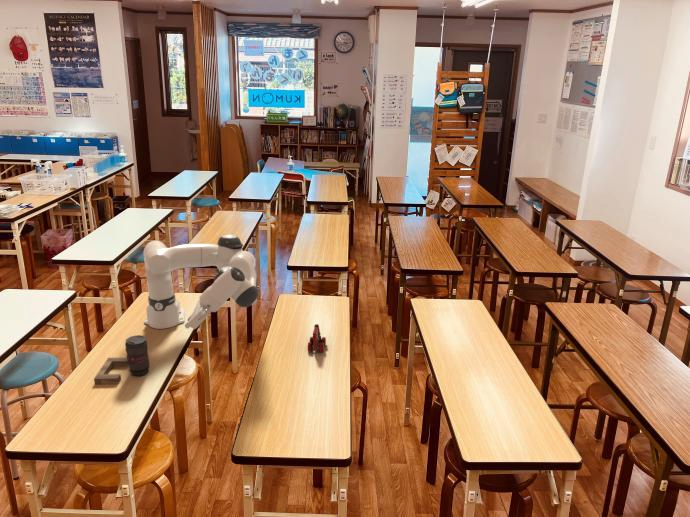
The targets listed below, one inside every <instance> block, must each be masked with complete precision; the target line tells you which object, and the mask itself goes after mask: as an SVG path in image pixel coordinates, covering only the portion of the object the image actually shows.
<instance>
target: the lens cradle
mask: <svg viewBox="0 0 690 517" xmlns="http://www.w3.org/2000/svg"><path fill="white" fill-rule="evenodd" d="M114 366H120V367H128V361H127V356H126V357H125V356H124V357H123V356H122V357H108V358H107V359H106V360H105V362H104V363H103V365H102V366H101V368H100V370H99V371H98V372H97V373H96V375H95V376H94V379H93V381H94V385H116V384H117V385H119V384H120V383H121V380H122V377H121V373H114V374H111V373H110V372H111V370H112V369H113V367H114Z"/></svg>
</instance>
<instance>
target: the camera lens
mask: <svg viewBox="0 0 690 517" xmlns="http://www.w3.org/2000/svg"><path fill="white" fill-rule="evenodd" d="M124 345H125V346H124V347H125V352H126V357H127V361H128V366H127V367H128V369H129V370H128V371H129V372H130V374H131V377H132V376H133V377H136V378H138V377H143V376H145V375H146V376H147V374H149V370H150V369H149V368H150V358H149V352H148V348H149V346H148V341H147V338H146V336H144V335H141V334H139V335H136V334H135V335H132V336H131V335H130V336H129V337H128V338H126V339H125V344H124Z"/></svg>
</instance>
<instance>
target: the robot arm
mask: <svg viewBox="0 0 690 517" xmlns="http://www.w3.org/2000/svg"><path fill="white" fill-rule="evenodd" d="M243 247H244V244H243V243H242V241H241V238H239V237H238V236H237V235H234V234H224V235H221V236H220V237H219V238H218V241H217V244H213V243H183V244H180V245H176V246H173V247H167V246H166V244H164V243H163V242H162V241H160V240H151V241H149V242H147V244H145V246H144V249H143V260H144V267H145V268H144V269H145V276H146V282H147V283H146V284H147V291H148V298H147V301H148V305H147V306H146V309H145V310H146V319H144V324H146V325H148V326H149V327H150V328H153V329H157V330H161V329H169V328H172V327H175V326H177V325H179V324H183V323H185V320H186V317H185V316H186V308H184V307H181V306H180V301H179V300H178V299H177V298H176V295H175V294H176V289H175V290H174V286H173V276H172V271H175V270H178V269H186V268H201V267H202V268H203V267H211V266H213V267H217V268H216V269H215V270H214V272H215V273H216V274H214V277H213V283H212V284H211V285H210V286H208V287H207V288H206V289H205V290H204V291H203V292H202V293H201V294H200V295H199V297H198V298H199V299H198V301H197V303H196V304H195V307H194V308H193V310H192V311H193V312H192V314H190V316H189V317H188V318H187V322H186V323H185V325H184V328H186V329H187V330H189V328H191V329H192V330H195V329H197V328H198V327H199V326H200V325H201V324H202V323H203V322H204V321H205V319H206V318H208V316H209V313H216V312H218V311H219V310H220V308H222V307H223V306H224V305H225V303H227V301H228V299H229V298H231V299H232V300H233V301H234V302H235V304H237V305H238V306H239V308H249V307H250V306H252V305H253V304H255V302H256V301H257V299H258V298H259V289H258V286H259V285H258V282H259V279H258V277H257V274H256V270H255V269H256V257H255V256H254V253H252V252H250V251H246V250H243Z"/></svg>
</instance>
